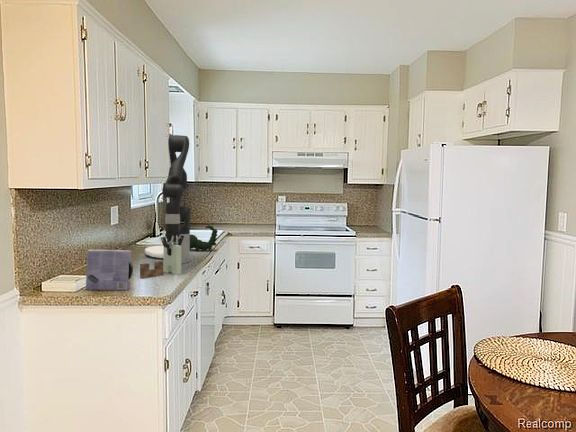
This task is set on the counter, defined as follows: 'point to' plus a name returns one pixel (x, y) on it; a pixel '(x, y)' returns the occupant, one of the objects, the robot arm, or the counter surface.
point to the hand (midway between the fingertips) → (172, 254)
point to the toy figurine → (204, 245)
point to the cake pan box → (108, 270)
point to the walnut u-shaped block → (151, 270)
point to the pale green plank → (172, 260)
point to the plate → (155, 251)
